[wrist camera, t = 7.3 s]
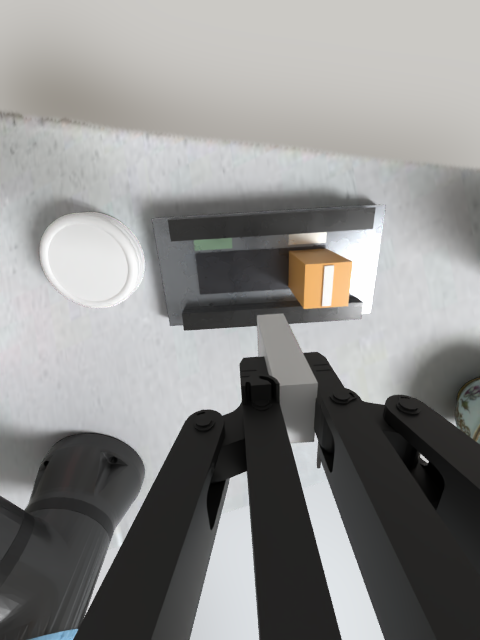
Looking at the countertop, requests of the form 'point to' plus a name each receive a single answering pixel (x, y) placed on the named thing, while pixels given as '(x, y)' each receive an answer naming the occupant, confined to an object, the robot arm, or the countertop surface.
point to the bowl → (469, 409)
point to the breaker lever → (319, 278)
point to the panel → (261, 263)
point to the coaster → (92, 259)
